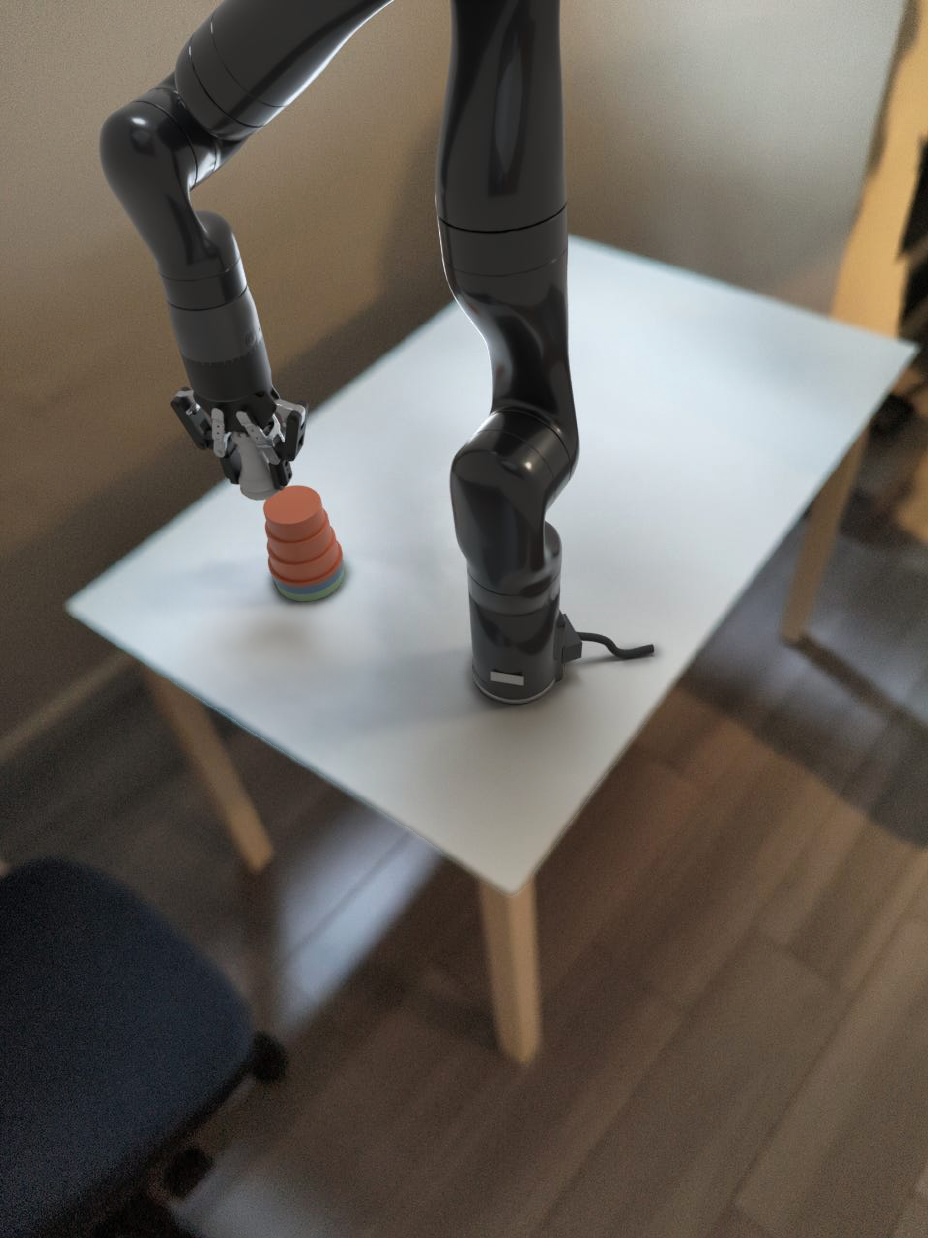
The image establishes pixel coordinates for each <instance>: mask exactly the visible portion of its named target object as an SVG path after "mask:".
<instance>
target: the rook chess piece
mask: <svg viewBox="0 0 928 1238" xmlns="http://www.w3.org/2000/svg"><path fill="white" fill-rule="evenodd" d="M233 432H234V431H233ZM230 438H231V440H232V441H233V443H234V444H235V445H237V448H236V450H237V452H238V453H240V456H241V463H242V469H241V472H240V475H239V490H240V493H241V495H243V496H244V497H246V498H247V499H249V500H252V501H257V502H258V501H265V500H266V499H269V498H272V497H273V496H275V495H276V494H277V493H278V491H279V490H275V488H274V484H273V480H272V476H271V473H270V469H269V465H268V463H269V460H268V459H267V457H266V455H265V454H264V452H263V450H262V449H261V448H260V447H259V448H258V447H256V445H255V443H254V442H253V440H252V438H251V437H250V435H248V434H246V433H242V432H234V433H231V436H230Z"/></svg>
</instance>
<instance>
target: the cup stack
mask: <svg viewBox="0 0 928 1238" xmlns="http://www.w3.org/2000/svg"><path fill="white" fill-rule="evenodd" d="M262 511H263V515H264V519H265V522H264V532H265V535H266V538H267V541H266V551H267V554H268V556H267V566H268V571H269V573H270V575H271V576H272V579H273V581H274V583H275V585H276V587H277V590H278V591H279V592H280V593H281V594H282V595H283V596H284V597H286V598H287V599H290V600H293V601H297V602H311V601H312V602H314V601H317V600H320V599H323V598H326V597H328V596H329V595H330V594H332V593H334V592H335V591H336V590H337V589H338V588H339V587H340V585H341V584H342V582H343V580H344V577H345V571H344V553H343V548H342V545H341V543H340V542H339V541H338V539H337V535H336V531H335V530H334V528H333V527H332V525H331V523H330V519H329V515H328V513H327V511H326V509H325V508H323V502H322V497H321V496H320V494H319V492H318V491H317V490H315V489H313V488H312V487H309V486H306V485H298V484H297V485H296V484H295V485H294V484H293V485H287V486H285V488H284V490H283V491H280V490H279V491H278V493H277V494H276V495H275V496H273V497H272V498H269V499H266V500H264V502H263V506H262Z"/></svg>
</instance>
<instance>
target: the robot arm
mask: <svg viewBox="0 0 928 1238" xmlns="http://www.w3.org/2000/svg"><path fill="white" fill-rule="evenodd" d="M393 1H394V0H222V2H221V3H220V4H219V5H218V6H217V7H216V8H215V9H214V10H213V11H212V12H211V14H210V15H208V17H206V19H205V20H204V21H203V22H202V23H201V24H200V25H199V27H198V28H197V29H196V30H195V31H194V32H193V34H191V35H190V36H189V38H188V39H187V40H186V41H185V43H184V45H183V47H182V48H181V50H180V52H179V54H178V55H177V59H176V61H175V65H174V70H173V71H172V72H171V73H169V74H168V75H167V76H166V77H165V78H163V80H161V81H160V82H159V83H158V84H157V85H154V86H153V87H152V88H151V89H149V90H147V91H146V92H144V93H143V94H140V95H139V96H138V97H136V98H134V99H133V100H131V101H130V102H128V103H126V104H124V105H122V106H121V107H119V108H118V109H116V110H115V111H113V112H112V113H111V114H109V115H108V117H107V118H106V119H105V120H104V122H103V124H102V126H101V129H100V131H99V136H98V153H99V161H100V167H101V170H102V173H103V176H104V178H105V180H106V183H107V185H108V186H109V189H110V190H111V192H112V193H113V195H114V196H115V198H116V200H117V202H118V203H119V204H120V207H121V208H122V209H123V211H124V213H125V215H126V216H127V217H128V219H129V221H130V222H131V224H132V225H133V227H134V229H135V230H136V232H137V234H138V235H139V236H140V238H141V240H142V241H143V242H144V244H145V246H146V247H147V249H148V250H149V252H150V253H151V255H152V258H153V261H154V265H155V269H156V271H157V275H158V277H159V281H160V284H161V287H162V290H163V293H164V296H165V301H166V304H167V305H166V306H167V309H168V317H169V321H170V325H171V328H172V332H173V335H174V338H175V341H176V343H177V348H178V351H179V354H180V357H181V360H182V363H183V366H184V369H185V372H186V375H187V379H188V382H189V385H190V387H188V386H182V387H181V388H180V390H179V391H178V392H176V394H175V395H174V397H173V398H172V400H171V401H170V403H169V404H170V407H171V409H172V410H173V412H174V414H175V415H176V417H177V418H178V420H179V421H180V423H181V424H182V426H183V427H184V429H185V430H186V432H187V434H188V435H189V436H190V438H191V440H192V441H193V443H194V444H195V446H196V447H197V449H199V450H200V451H206V450H207V449H209V450H211V451H213V453H214V455H215V456H216V457H218V459H219V462H220V465H221V468H222V471H223V474H224V476H225V477H226V479H228V480H229V482H230V485H236V486H238V485H239V475H240V472H241V469H242V463H241V456H240V453H238V452H237V450H236V448H237V444H235V442H233V441H232V440H231V438H230V436H231V433H234V432H242V433H246V434H248V435H250V437H251V438H252V440H253V442H254V443H255V445H256V447H258V448H259V447H260V448H261V449H262V450H263V452H264V454H265V455H266V457H267V459H268V460H269V463H268V465H269V469H270V473H271V476H272V480H273V484H274V488H275V490H280V491H283V490H284V488H285V487H287V486H289V483H290V481H291V480H292V478H293V471H292V467H291V463H292V462H294V461H295V460H296V459H297V457H298V455H299V453H300V451H301V449H302V448H303V446H304V443H305V436H306V435H305V434H306V429H307V420H308V413H309V404H308V402H307V401H305V400H303V399H299V400H297V401H296V403H292V402H290V401H287V400H284V399H281V396H280V394H279V392H278V391H277V390H276V389H275V386H273V382H272V380H273V379H272V369H271V365H270V361H269V356H268V352H267V349H266V344H265V339H264V335H263V331H262V328H261V324H260V319H259V315H258V311H257V307H256V303H255V300H254V298H253V296H252V293H251V290H250V288H249V285H248V282H247V277H246V274H245V270H244V264H243V259H242V257H241V253H240V248H239V245H238V242H237V238H236V235H235V232H234V230H233V229H234V228H233V227H232V226H231V224H230V222H229V221H228V220H227V219H226V217H224V216H223V215H222V214H219V213H218V212H216V211H212V210H208V209H194V206H193V202H192V199H191V192H192V191H193V190H194V189H196V188H197V187H199V186H200V185H201V184H203V183H204V182H205V181H207V180H208V179H209V178H210V177H211V176H213V175H214V174H215V173H216V172H218V171H219V170H220V169H221V168H222V167H223V166H224V165H225V164H226V163H228V162H229V161H230V160H231V159H232V158H233V157H234V156H235V155H236V154H237V152H239V151H240V149H241V148H242V147H243V146H244V145H245V144H246V142H247V141H248V140H249V139H250V137H251V136H253V135H255V134H256V133H257V132H259V131H260V130H262V129H263V128H264V127H265V126H267V125H268V124H269V123H271V121H273V120H274V119H275V118H276V117H277V116H278V115H279V114H280V113H282V112H283V111H284V110H285V109H286V108H287V107H289V106H290V105H291V103H293V102H294V101H295V100H297V98H298V97H299V96H300V95H301V94H302V93H304V92H305V91H306V90H307V89H308V88H309V86H310V85H312V83H313V82H315V80H316V79H317V78H318V77H319V76H320V75H321V74H322V73H323V71H324V70H325V69H326V68H327V67H328V65H329V64H330V63H331V62H332V61H333V59H334V58H335V57H336V55H338V53H339V52H340V50H341V49H342V48H343V47H344V45H346V43H347V42H348V41H349V39H350V38H352V37H353V35H355V33H356V32H357V31H358V30H359V29H360V28H361V27H362V26H364V25H365V23H367V22H368V21H369V20H370V19H371V18H373V17H374V16H375V15H376V14H377V13H378V12H380V11H382V9H383V8H385V7H386V6H388V5H389V4H390V3H392V2H393ZM449 5H450V52H449V63H448V70H447V77H446V84H445V85H446V86H445V90H444V96H443V103H442V111H441V117H440V123H439V132H438V140H437V146H436V147H437V148H436V155H435V166H434V167H435V169H434V197H435V199H434V200H435V210H436V217H437V226H438V234H439V242H440V250H441V260H442V265H443V271H444V274H445V278H446V281H447V283H448V286H449V290H450V291H451V293H452V296H453V297H454V299H455V300H456V303H457V304H458V305H459V307H460V309H461V310H462V311H463V312H464V314H465V315H466V317H467V318H468V320H469V321H470V323H472V325H473V326H474V328H475V329H476V330H477V331H478V333H479V334H480V335H481V337H482V339H483V341H484V343H485V345H486V348H487V351H488V357H489V358H488V359H489V363H490V374H491V405H490V410H489V414H488V416H487V418H486V419H485V421H483V422H482V424H480V426H479V427H478V428H477V429H476V430H475V431H474V433H473V434H471V436H470V437H468V439H467V440H466V441H465V443H464V444H463V445H462V446H461V447H460V448H459V450H457V452H456V453H455V455H454V457H453V459H452V461H451V464H450V469H449V474H448V475H449V477H448V481H449V482H448V484H449V487H448V488H449V497H450V504H451V505H450V506H451V511H452V519H453V525H454V533H455V538H456V542H457V546H458V547H459V550H460V551H461V553H462V555H463V557H464V558H465V563H466V565H465V566H466V578H467V592H468V593H467V595H468V612H469V626H470V628H469V629H470V641H471V644H470V645H471V661H472V663H471V672H472V678H473V681H474V683H475V685H476V687H477V688H478V689H479V690H480V692H482V693H483V694H484V695H485V696H487V697H488V698H489V699H492V700H493V701H496V702H499V703H503V704H508V705H521V704H528V703H531V702H534V701H536V700H538V699H540V698H542V697H543V696H544V695H546V694H547V693H548V692H549V691H550V690H551V689H552V688H553V686H554V685H555V682H557V681H560V680H563V679H564V672H565V664H566V663H569V662H572V661H575V660H578V659H581V658H582V653H583V642H591V643H597V644H601V645H603V646H605V647H606V648H607V650H608V651H609V652H610V654H612V655H613V656H615V657H617V658H622V659H630V658H636V657H640V656H645V655H648V654H653V653H655V646H654V644H653V643H652V644H645V645H642V646H638V647H635V648H628V649H627V648H625V649H624V648H619V647H618V646H617V645H616V644H615V642H614V641H613V640H612V639H611V638H610V637H608V636H605V635H603V634H600V633H595V632H586V631H576V629H575V627H574V626H573V624H572V622H571V620H570V619H569V617H568V615H567V613H563V612H562V610H561V609H560V601H561V581H562V580H561V579H562V564H563V563H562V562H563V541H562V538H561V536H560V533H559V532H558V530H557V528H556V527H555V526H554V525H553V524H552V523H551V522H550V521H548V520H547V519H546V515H547V512H548V511H549V509H550V508H551V507H552V506H553V505H554V503H555V502H556V500H557V499H558V498H559V496H560V495H561V494H562V492H563V491H564V490H565V488H566V487H567V485H568V484H569V483H570V481H571V480H572V478H573V476H574V475H575V472H576V470H577V467H578V464H579V460H580V453H581V450H580V449H581V447H580V446H581V445H580V432H579V423H578V415H577V409H576V403H575V402H576V401H575V395H574V388H573V381H572V372H571V371H572V370H571V364H570V349H569V348H570V346H569V340H570V339H569V336H570V335H569V333H570V331H569V329H570V327H569V324H570V323H569V322H570V321H569V320H570V319H569V287H568V284H569V283H568V282H569V281H568V268H569V267H568V266H569V215H568V214H569V213H568V212H569V209H568V183H567V182H568V181H567V170H566V169H567V167H566V139H565V138H566V135H565V106H564V86H563V85H564V83H563V80H564V79H563V67H562V66H563V65H562V51H561V50H562V49H561V0H449ZM275 413H277V414H278V415H279V416H280V419H281V422H282V423H281V424H280V422H279V420H278V418H277V416H276V415H275ZM210 418H211V419H210ZM281 425H282V427H284V428H285V433H284V435H283V433H282V432H281ZM233 431H234V432H233ZM239 486H240V485H239Z"/></svg>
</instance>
